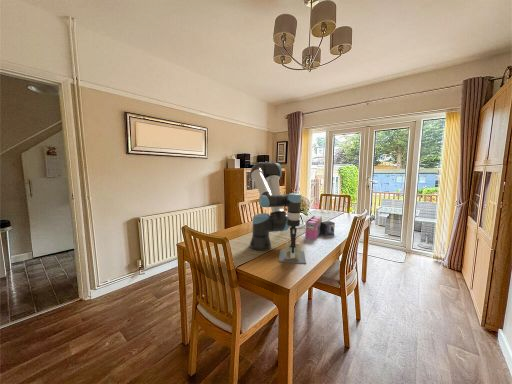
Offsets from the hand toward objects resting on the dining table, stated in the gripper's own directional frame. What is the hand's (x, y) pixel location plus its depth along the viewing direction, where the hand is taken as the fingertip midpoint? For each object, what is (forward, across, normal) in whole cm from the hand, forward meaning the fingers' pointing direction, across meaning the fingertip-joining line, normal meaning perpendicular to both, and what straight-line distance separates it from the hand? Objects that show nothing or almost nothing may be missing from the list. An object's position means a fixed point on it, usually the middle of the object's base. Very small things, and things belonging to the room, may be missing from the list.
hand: (292, 253), depth 132 cm
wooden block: (+3, 0, 0) cm, 3 cm away
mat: (+4, +4, 0) cm, 6 cm away
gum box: (+4, +51, -19) cm, 55 cm away
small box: (+4, +55, -30) cm, 63 cm away
